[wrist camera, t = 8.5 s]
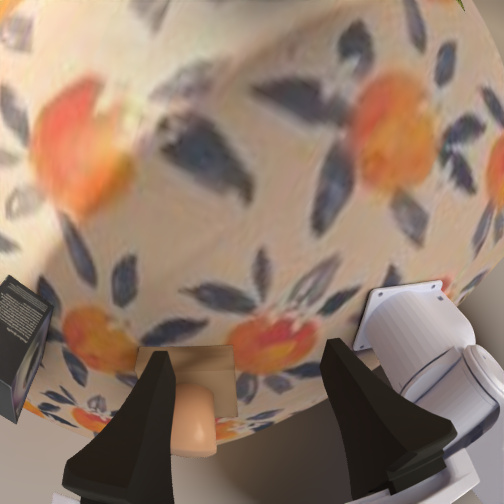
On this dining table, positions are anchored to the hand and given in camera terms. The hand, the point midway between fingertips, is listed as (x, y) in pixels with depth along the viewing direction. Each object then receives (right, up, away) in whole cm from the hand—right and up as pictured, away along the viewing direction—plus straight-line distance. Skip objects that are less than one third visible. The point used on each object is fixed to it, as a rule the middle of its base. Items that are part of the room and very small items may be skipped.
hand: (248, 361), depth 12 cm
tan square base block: (-6, -8, +15) cm, 18 cm away
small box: (-24, -2, +10) cm, 26 cm away
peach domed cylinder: (-6, -9, +12) cm, 16 cm away
